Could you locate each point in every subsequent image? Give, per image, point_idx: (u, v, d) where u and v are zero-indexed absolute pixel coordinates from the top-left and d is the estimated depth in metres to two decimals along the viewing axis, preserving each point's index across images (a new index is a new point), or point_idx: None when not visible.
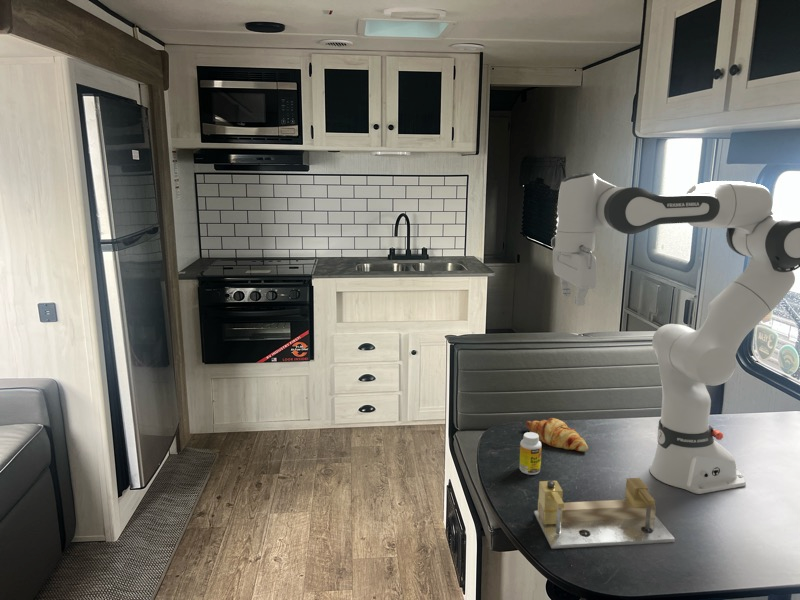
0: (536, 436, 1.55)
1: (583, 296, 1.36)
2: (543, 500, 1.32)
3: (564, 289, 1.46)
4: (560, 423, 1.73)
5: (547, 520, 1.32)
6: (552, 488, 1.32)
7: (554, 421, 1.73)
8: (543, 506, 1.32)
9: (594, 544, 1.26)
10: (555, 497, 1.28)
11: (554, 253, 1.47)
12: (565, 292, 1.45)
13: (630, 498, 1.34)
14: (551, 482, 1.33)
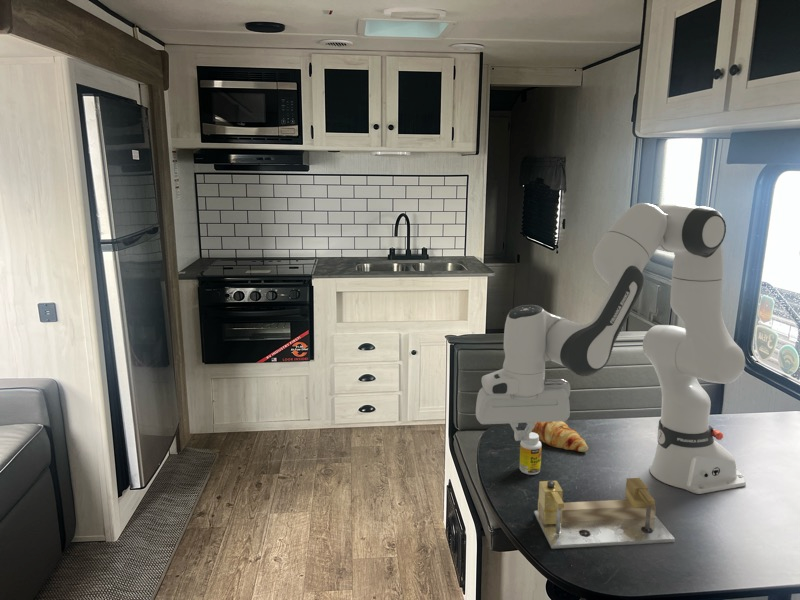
0: (536, 436, 1.55)
1: None
2: (543, 500, 1.32)
3: (520, 433, 1.29)
4: (560, 423, 1.73)
5: (547, 520, 1.32)
6: (552, 488, 1.32)
7: None
8: (543, 506, 1.32)
9: (594, 544, 1.26)
10: (555, 497, 1.28)
11: (488, 401, 1.25)
12: None
13: (630, 498, 1.34)
14: (551, 482, 1.33)
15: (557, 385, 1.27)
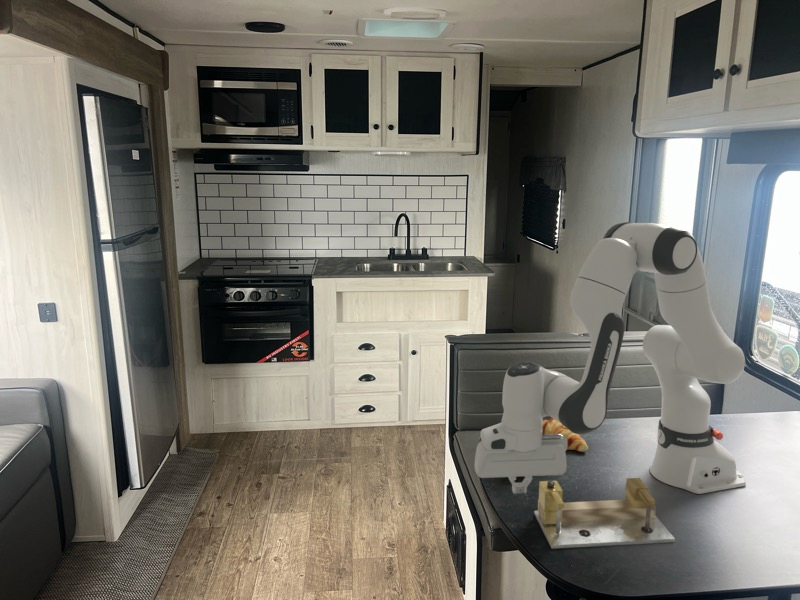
0: None
1: None
2: (543, 500, 1.32)
3: (518, 486, 1.32)
4: None
5: (547, 520, 1.32)
6: (552, 488, 1.32)
7: (555, 421, 1.73)
8: (543, 506, 1.32)
9: (594, 544, 1.26)
10: (555, 497, 1.28)
11: (487, 455, 1.28)
12: None
13: (630, 498, 1.34)
14: (551, 482, 1.33)
15: (554, 440, 1.30)
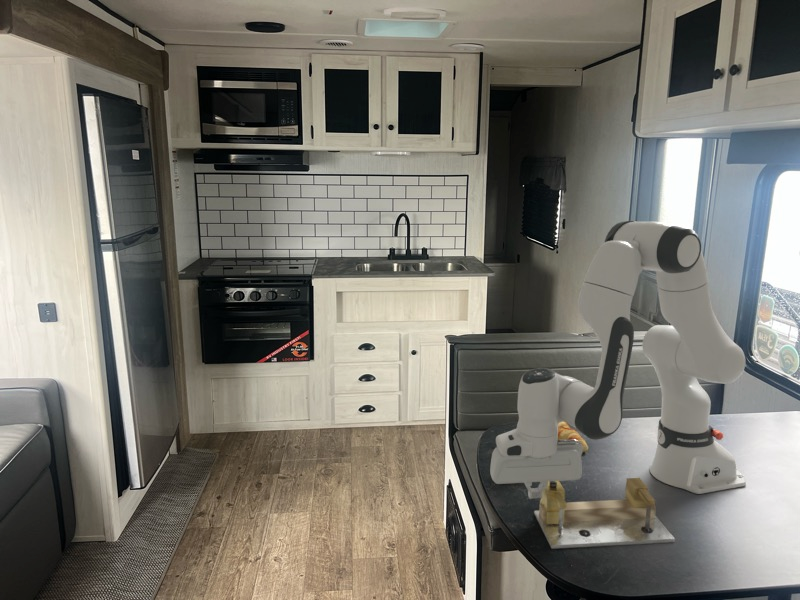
0: None
1: None
2: (545, 500, 1.32)
3: (534, 491, 1.32)
4: (561, 423, 1.73)
5: (549, 520, 1.32)
6: (555, 487, 1.32)
7: None
8: (545, 506, 1.32)
9: (594, 544, 1.26)
10: (557, 497, 1.28)
11: (503, 462, 1.28)
12: None
13: (630, 498, 1.34)
14: (553, 482, 1.33)
15: (570, 445, 1.31)
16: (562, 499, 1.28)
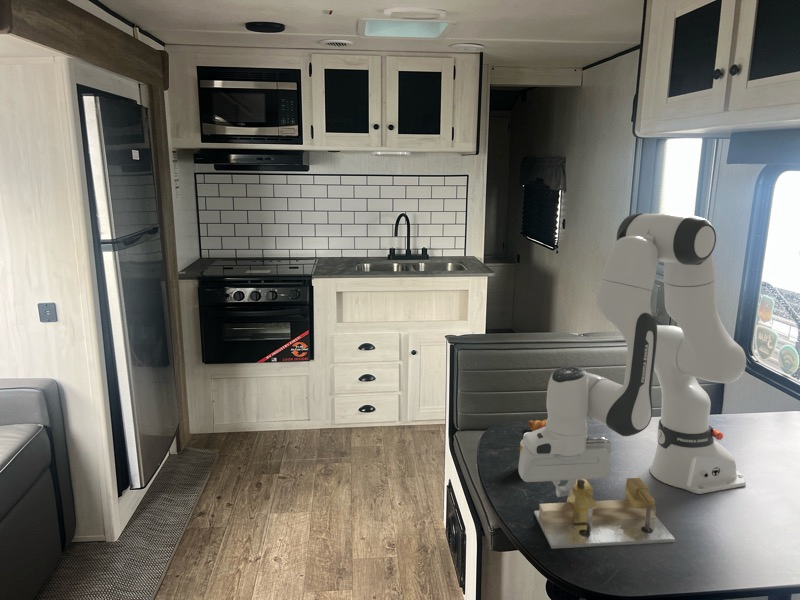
0: None
1: None
2: (573, 498, 1.33)
3: (562, 489, 1.33)
4: None
5: (577, 518, 1.32)
6: (582, 486, 1.32)
7: None
8: (573, 504, 1.33)
9: (594, 544, 1.26)
10: (586, 495, 1.29)
11: (532, 460, 1.29)
12: None
13: (630, 498, 1.34)
14: (581, 481, 1.33)
15: (598, 443, 1.31)
16: (591, 498, 1.28)
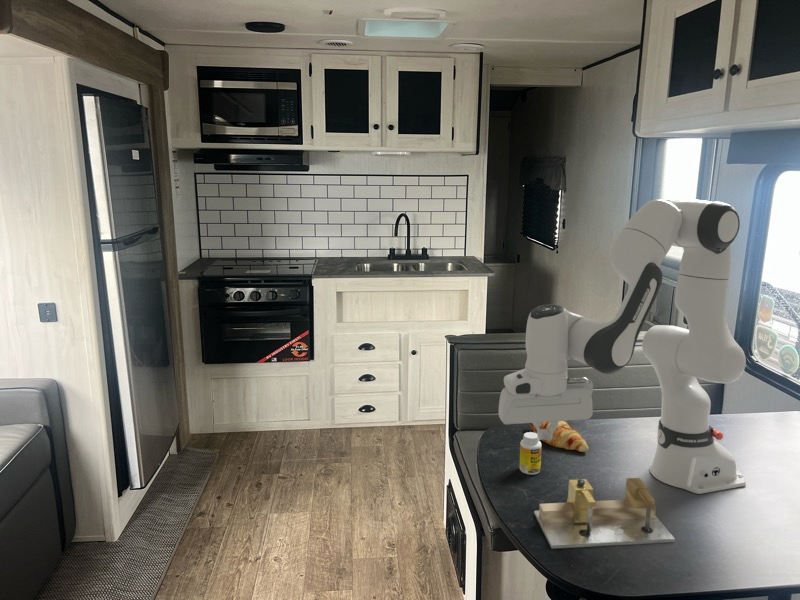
0: (536, 436, 1.55)
1: None
2: (573, 498, 1.33)
3: (543, 432, 1.29)
4: (562, 423, 1.73)
5: (577, 518, 1.32)
6: (583, 486, 1.32)
7: None
8: (573, 504, 1.33)
9: (594, 544, 1.26)
10: (586, 495, 1.29)
11: (512, 401, 1.25)
12: None
13: (630, 498, 1.34)
14: (581, 481, 1.33)
15: (580, 384, 1.27)
16: (591, 498, 1.28)
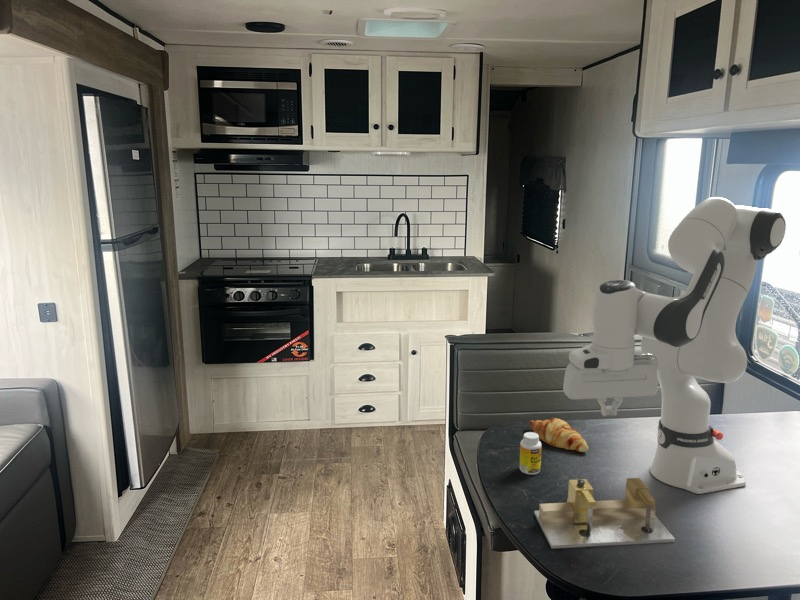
0: (536, 436, 1.55)
1: None
2: (573, 498, 1.33)
3: (608, 408, 1.30)
4: (562, 423, 1.72)
5: (577, 518, 1.32)
6: (583, 486, 1.32)
7: (556, 421, 1.73)
8: (573, 504, 1.33)
9: (594, 544, 1.26)
10: (586, 495, 1.29)
11: (579, 376, 1.26)
12: None
13: (630, 498, 1.34)
14: (581, 481, 1.33)
15: (645, 360, 1.28)
16: (591, 498, 1.28)
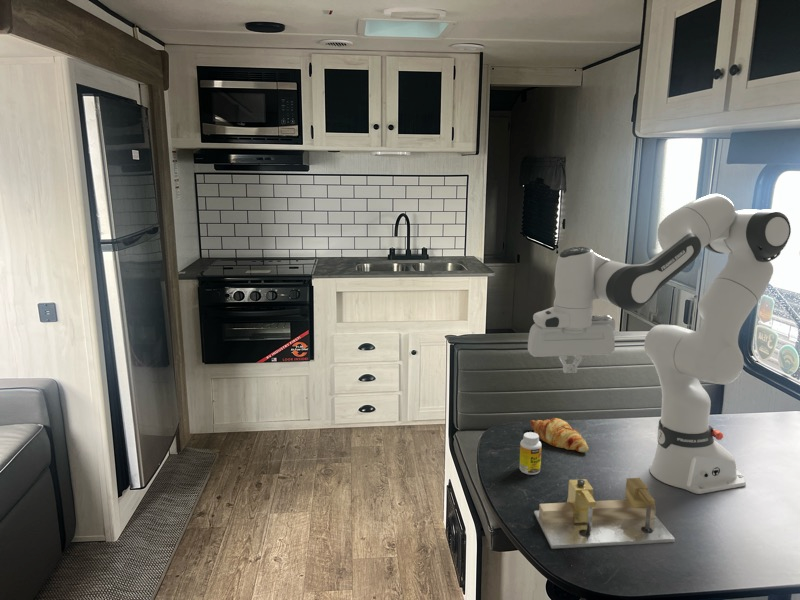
0: (536, 436, 1.55)
1: None
2: (573, 498, 1.33)
3: (568, 365, 1.41)
4: (562, 423, 1.72)
5: (577, 518, 1.32)
6: (583, 486, 1.32)
7: (556, 421, 1.73)
8: (573, 504, 1.33)
9: (594, 544, 1.26)
10: (586, 495, 1.29)
11: (541, 334, 1.37)
12: None
13: (630, 498, 1.34)
14: (581, 481, 1.33)
15: (603, 321, 1.39)
16: (591, 498, 1.28)
